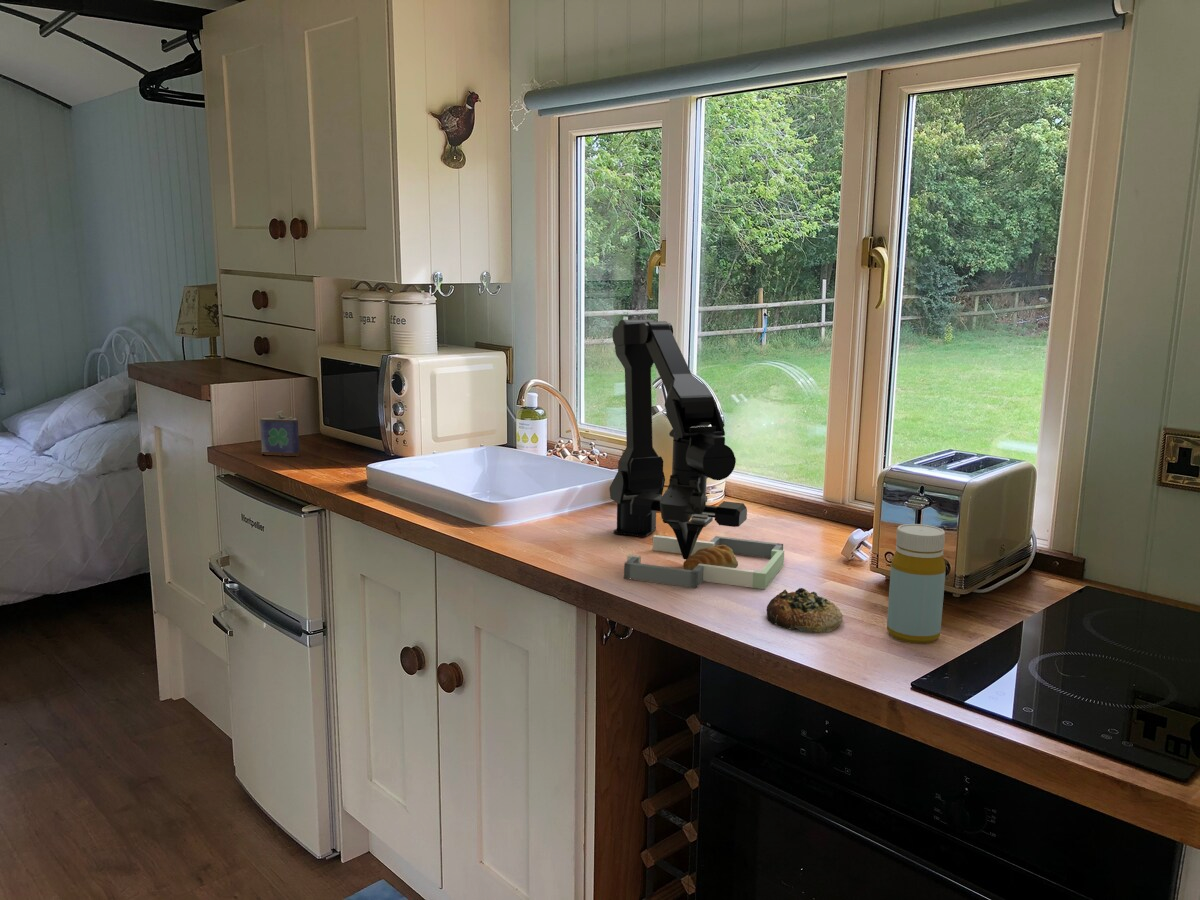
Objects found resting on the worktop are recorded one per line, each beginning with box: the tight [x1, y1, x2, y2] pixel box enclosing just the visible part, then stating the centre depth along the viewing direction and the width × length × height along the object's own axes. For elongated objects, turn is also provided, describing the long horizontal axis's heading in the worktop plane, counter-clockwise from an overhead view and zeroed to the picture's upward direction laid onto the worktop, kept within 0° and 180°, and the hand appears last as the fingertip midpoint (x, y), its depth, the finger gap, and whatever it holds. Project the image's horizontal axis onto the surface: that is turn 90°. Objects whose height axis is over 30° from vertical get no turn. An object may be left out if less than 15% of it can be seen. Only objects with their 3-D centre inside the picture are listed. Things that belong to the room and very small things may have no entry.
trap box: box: [623, 534, 785, 590], centre depth 164 cm, size 23×22×2 cm
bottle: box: [886, 523, 947, 645], centre depth 134 cm, size 7×7×15 cm
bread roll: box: [766, 587, 844, 634], centre depth 141 cm, size 11×11×5 cm
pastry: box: [682, 545, 739, 570], centre depth 163 cm, size 9×7×4 cm
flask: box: [259, 410, 301, 453], centre depth 253 cm, size 10×3×12 cm, turn 84°
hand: (686, 558), depth 166 cm, fingers closed
